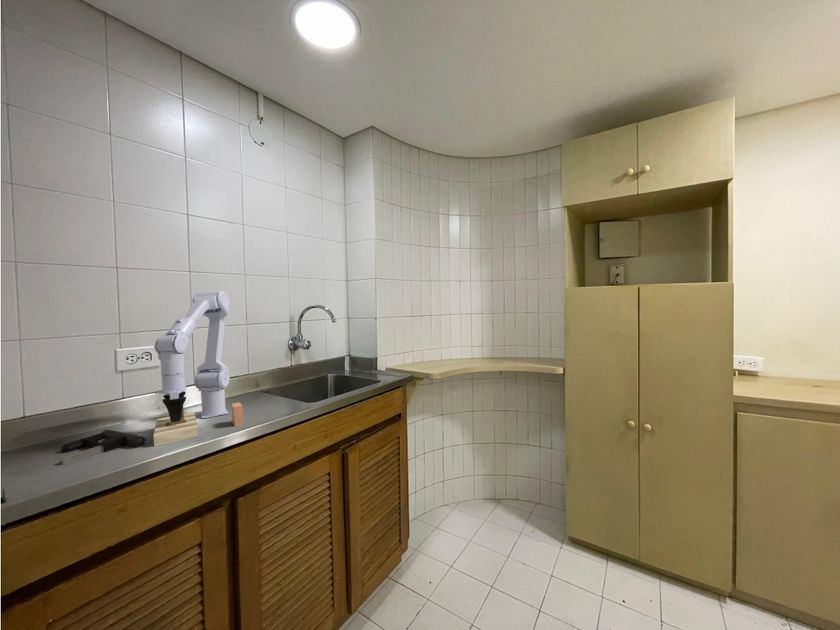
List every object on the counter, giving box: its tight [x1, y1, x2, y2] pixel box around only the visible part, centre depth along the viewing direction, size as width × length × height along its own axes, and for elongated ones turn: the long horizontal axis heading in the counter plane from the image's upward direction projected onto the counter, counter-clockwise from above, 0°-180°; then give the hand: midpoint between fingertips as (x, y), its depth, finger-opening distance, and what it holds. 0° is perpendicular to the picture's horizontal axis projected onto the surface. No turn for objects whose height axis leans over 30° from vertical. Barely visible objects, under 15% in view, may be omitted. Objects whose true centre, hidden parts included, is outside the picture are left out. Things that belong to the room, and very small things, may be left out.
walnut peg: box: [170, 407, 185, 426], centre depth 104 cm, size 3×3×9 cm
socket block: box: [153, 412, 199, 447], centre depth 104 cm, size 20×10×3 cm, turn 36°
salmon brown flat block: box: [231, 402, 244, 427], centre depth 110 cm, size 6×2×6 cm, turn 36°
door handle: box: [59, 429, 148, 465], centre depth 92 cm, size 3×20×16 cm
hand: (175, 418), depth 104 cm, fingers open, 7 cm apart
